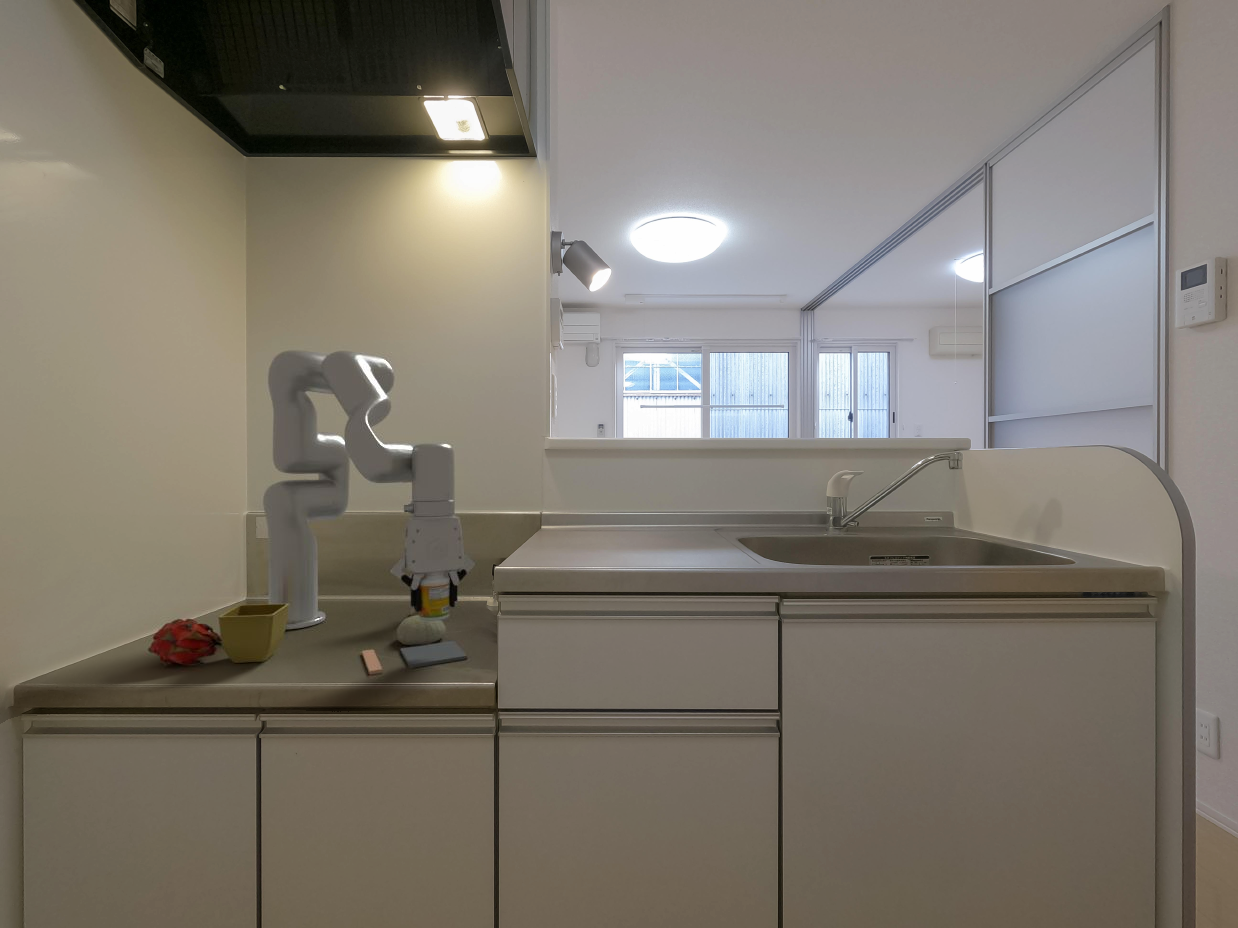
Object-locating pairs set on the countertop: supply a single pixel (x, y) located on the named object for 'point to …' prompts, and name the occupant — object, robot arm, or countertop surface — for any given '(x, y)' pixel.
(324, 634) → the countertop surface
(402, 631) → the sea urchin shell
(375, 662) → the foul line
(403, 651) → the pad
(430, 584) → the supplement bottle
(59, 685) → the countertop surface
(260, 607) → the flower pot
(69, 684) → the countertop surface
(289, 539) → the robot arm
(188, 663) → the dragon fruit
